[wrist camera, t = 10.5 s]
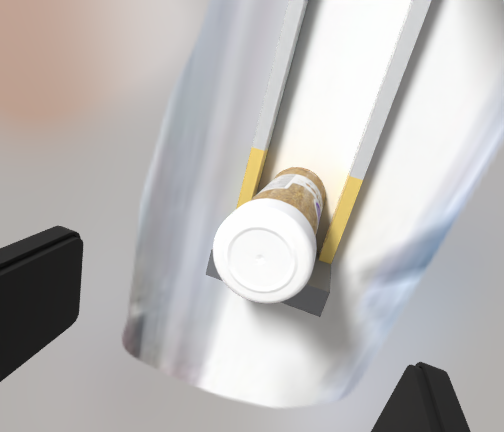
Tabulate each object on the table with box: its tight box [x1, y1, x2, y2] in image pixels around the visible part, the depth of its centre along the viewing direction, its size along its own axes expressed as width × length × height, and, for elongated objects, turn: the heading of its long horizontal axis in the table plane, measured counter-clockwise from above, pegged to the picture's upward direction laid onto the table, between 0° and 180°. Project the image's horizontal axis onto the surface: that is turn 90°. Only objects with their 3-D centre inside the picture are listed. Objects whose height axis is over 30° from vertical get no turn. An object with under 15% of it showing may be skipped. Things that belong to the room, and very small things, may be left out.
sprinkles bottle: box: [213, 167, 325, 304], centre depth 20 cm, size 5×5×13 cm
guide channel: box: [206, 0, 432, 317], centre depth 21 cm, size 27×8×6 cm, turn 164°
